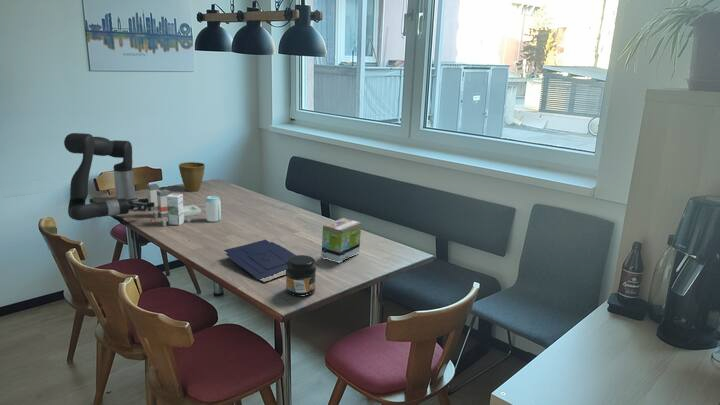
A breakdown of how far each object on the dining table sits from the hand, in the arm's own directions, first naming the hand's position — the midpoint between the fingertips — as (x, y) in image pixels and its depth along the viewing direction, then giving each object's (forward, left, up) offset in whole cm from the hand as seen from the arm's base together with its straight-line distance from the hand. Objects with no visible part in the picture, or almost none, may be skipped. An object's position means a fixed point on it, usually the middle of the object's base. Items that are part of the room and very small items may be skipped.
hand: (151, 202), depth 254 cm
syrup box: (+15, +6, -8) cm, 18 cm away
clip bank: (+1, +5, -8) cm, 9 cm away
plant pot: (-41, +39, -8) cm, 57 cm away
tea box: (+94, +45, -8) cm, 105 cm away
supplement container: (+112, +12, -8) cm, 113 cm away
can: (+20, +23, -8) cm, 32 cm away
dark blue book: (+83, +15, -8) cm, 85 cm away
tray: (+2, +18, -8) cm, 20 cm away
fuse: (-14, +6, -8) cm, 17 cm away
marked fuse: (0, +6, -8) cm, 10 cm away
